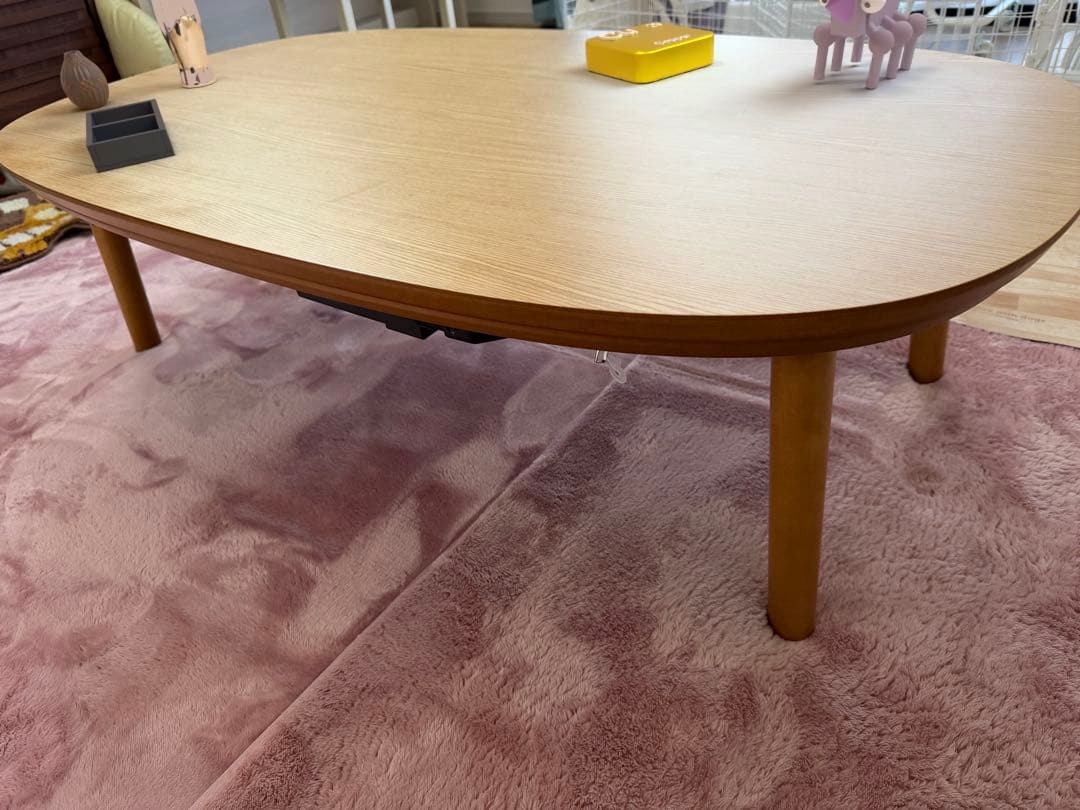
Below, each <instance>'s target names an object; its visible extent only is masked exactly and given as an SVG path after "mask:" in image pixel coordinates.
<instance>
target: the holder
mask: <svg viewBox="0 0 1080 810" xmlns="http://www.w3.org/2000/svg"><path fill="white" fill-rule="evenodd" d="M85 143H86V144H85V147H86V149H87V152H88V154H89V156H90V158H91V160H92V163H93V165H94V168H95V170H96V172H97V173H101V172H107V171H111V170H115V169H119V168H124V167H128V166H132V165H137V164H141V163H146V162H150V161H155V160H160V159H163V158H167V157H173V156H175V155H176V153H175V150H174V148H173V144H172V141H171V138H170V135H169V132H168V129H167V126H166V124H165V121H164V117H163V115H162V113H161V110H160V107H159V104H158V102H157V99H156V98H152V99H147V100H142V101H137V102H133V103H128V104H122V105H118V106H117V105H116V106H113V107H108V108H103V109H98V110H92V111H89V112H85Z"/></svg>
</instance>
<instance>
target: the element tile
mask: <svg viewBox="0 0 1080 810" xmlns="http://www.w3.org/2000/svg"><path fill="white" fill-rule="evenodd" d="M584 45H585V46H584V47H585V48H584V49H585V63H586V64H585V65H586V69H587V70H588V71H589V72H592V73H597V74H600V75H604V76H607V77H611V78H615V79H619V80H621V81H622V80H623V81H626V82H630V83H633V84H649V83H653V82H656V81H660V80H664V79H667V78H670V77H673V76H677V75H680V74H684V73H687V72H690V71H694V70H697V69H700V68H704V67H709V65H712V64H713V63H714V58H715V57H714V56H715V33H714V32H713V31H711V30H706V29H699V28H694V27H688V26H683V25H676V24H672V23H665V22H660V21H652V22H648V23H643V24H639V25H636V26H633V27H629V28H624V29H619V30H616V31H609V32H604V33H601V34H599V35H597V36H593V37H590V38H587V39H586V40H585V42H584Z"/></svg>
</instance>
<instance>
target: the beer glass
mask: <svg viewBox="0 0 1080 810" xmlns="http://www.w3.org/2000/svg"><path fill="white" fill-rule="evenodd" d="M150 2H151V5H152V9H153V12H154V17H155V19H156V22H157V25H158V27H159V30H160V32H161V35H162V36H163V39H164V41H165V42H166V44H167V46H168V48H169V50H170V52H171V54H172V56H173V58H174V60H175V62H176V64H177V68H178V70H179V76H180V83H181V86H182V87H183V88H185V89H195V88H196V89H197V88H202V87H205V86H210V85H212V84H215V83H216V82H217V81H218V78H217V75H216V74H215V72H214V69H213V68H212V66H211V63H210V61H209V57H208V54H207V53H208V52H207V47H206V39H205V33H204V29H203V23H202V19H201V16H200V13H199V10H198V7H197V4H196V2H195V0H150Z"/></svg>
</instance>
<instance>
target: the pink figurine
mask: <svg viewBox="0 0 1080 810" xmlns="http://www.w3.org/2000/svg"><path fill="white" fill-rule="evenodd" d="M818 1H819V3H820V5H822V6H823V7H824V8H826V10H828V11H829V12H830V21H825V22H822V23H819V25H817V26H816V27H815V29H814V31H813V33H812V39H813V42H814V44H815V45H816V46H817V50H816V58H815V65H814V72H813V81H822V80H825V75H826V68H827V60H828V55H829V47H830V46H832V45H833V49H832V50H833V52H832V58H831V64H830V72H841V71H842V66H843V59H844V52H845V46H846V39H848V38H851V39H852V38H853V44H852V49H851V57H850V63H861V62H862V57H863V52H864V51H863V50H864V44H865V40H866V36H867V37H868V39H869V40H868V44H867V45H868V50H869V52H870V53H871V54H872V55H871V60H870V65H869V70H868V76H867V80H866V85H865V87H866V88H867V89H870V90H876V89H877V88H878V85H879V80H880V75H881V71H882V67H883V66H882V65H883V61H884V58H885V57H884V56H885V55H886V54H889V58H888V63H887V66H886V71H885V78H886V79H892V80H893V79H896V78H897V75H898V70H899V69H901V70H905V71H907V70H911V68H912V63H913V59H914V54H915V50H916V46H917V42H918V38H919V37H921V36H922V35H923V34H924V33H925V32H926V30H927V27H928V21H927V18H926V16H925V15H924V14H922V13H920V12H914V13H911V14H909V15H907V14H905V13H903V12H902V11H900V10H899V6H900V2H901V0H818ZM879 26H880V27H881V29H879V28H878V27H879ZM889 52H890V53H889Z"/></svg>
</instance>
